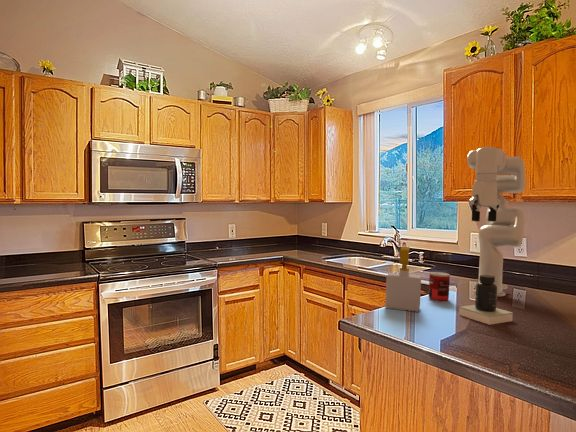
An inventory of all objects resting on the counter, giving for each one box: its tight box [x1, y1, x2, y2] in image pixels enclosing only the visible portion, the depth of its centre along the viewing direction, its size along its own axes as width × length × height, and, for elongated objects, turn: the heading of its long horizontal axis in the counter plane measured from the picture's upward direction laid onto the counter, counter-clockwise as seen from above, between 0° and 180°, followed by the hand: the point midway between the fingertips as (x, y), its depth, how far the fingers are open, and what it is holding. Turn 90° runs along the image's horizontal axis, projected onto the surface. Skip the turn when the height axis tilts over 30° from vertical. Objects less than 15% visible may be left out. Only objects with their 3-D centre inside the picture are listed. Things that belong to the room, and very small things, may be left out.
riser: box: [458, 304, 514, 325], centre depth 136 cm, size 12×12×3 cm
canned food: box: [428, 271, 451, 302], centre depth 162 cm, size 8×8×11 cm
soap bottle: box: [385, 246, 422, 313], centre depth 145 cm, size 12×7×23 cm, turn 68°
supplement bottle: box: [474, 275, 498, 312], centre depth 136 cm, size 7×7×12 cm
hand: (483, 221), depth 154 cm, fingers open, 9 cm apart
